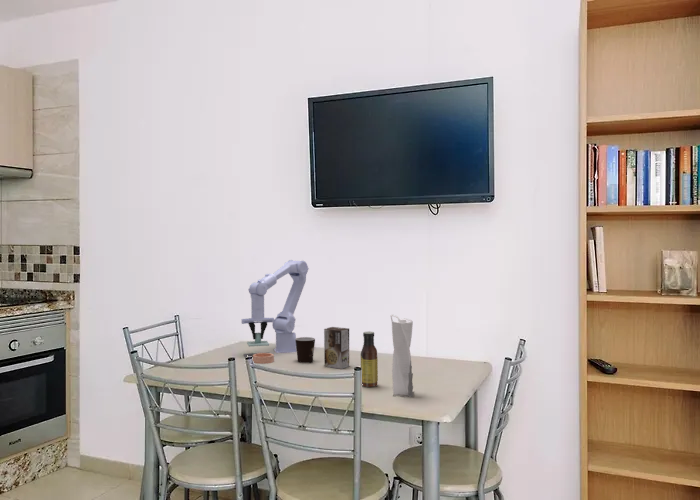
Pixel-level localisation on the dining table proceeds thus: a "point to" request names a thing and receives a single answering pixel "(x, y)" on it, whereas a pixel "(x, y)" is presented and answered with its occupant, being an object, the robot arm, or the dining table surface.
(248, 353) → the mat
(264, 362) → the bowl
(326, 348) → the cookie box
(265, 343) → the lid
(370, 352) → the sauce bottle
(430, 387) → the dining table surface
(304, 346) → the coffee mug
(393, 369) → the skyscraper
